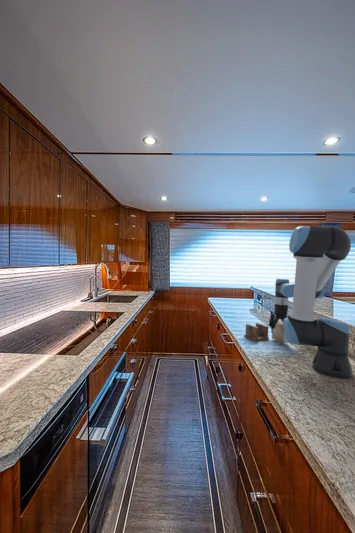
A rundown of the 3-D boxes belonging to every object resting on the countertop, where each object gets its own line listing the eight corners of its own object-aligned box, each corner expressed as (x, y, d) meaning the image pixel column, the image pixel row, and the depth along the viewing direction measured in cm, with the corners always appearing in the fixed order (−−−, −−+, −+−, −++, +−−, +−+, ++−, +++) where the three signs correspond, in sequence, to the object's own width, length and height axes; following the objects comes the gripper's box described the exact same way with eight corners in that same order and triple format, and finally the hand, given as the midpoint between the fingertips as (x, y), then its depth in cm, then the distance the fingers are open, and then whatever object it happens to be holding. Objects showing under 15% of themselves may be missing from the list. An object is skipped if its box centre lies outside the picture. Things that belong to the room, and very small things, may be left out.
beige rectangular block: (286, 343, 141) (287, 324, 141) (280, 344, 138) (281, 325, 138) (278, 340, 146) (279, 322, 145) (272, 341, 143) (273, 323, 143)
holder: (268, 339, 146) (269, 326, 146) (256, 341, 141) (256, 328, 141) (256, 334, 155) (257, 322, 155) (244, 336, 150) (244, 324, 150)
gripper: (301, 306, 134) (299, 345, 134) (271, 300, 152) (270, 335, 153) (292, 307, 131) (290, 347, 131) (263, 301, 149) (262, 336, 149)
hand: (279, 340), depth 142 cm, fingers open, 8 cm apart
